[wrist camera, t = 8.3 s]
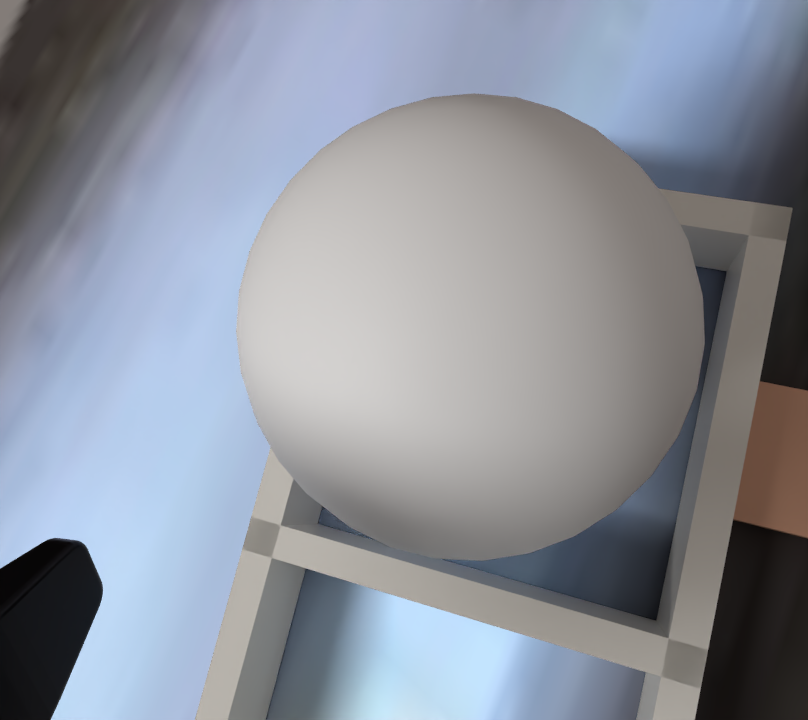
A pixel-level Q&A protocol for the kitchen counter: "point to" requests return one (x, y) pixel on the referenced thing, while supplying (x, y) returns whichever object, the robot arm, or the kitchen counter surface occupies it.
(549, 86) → the kitchen counter surface
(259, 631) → the socket board
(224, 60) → the kitchen counter surface
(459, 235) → the lightbulb
